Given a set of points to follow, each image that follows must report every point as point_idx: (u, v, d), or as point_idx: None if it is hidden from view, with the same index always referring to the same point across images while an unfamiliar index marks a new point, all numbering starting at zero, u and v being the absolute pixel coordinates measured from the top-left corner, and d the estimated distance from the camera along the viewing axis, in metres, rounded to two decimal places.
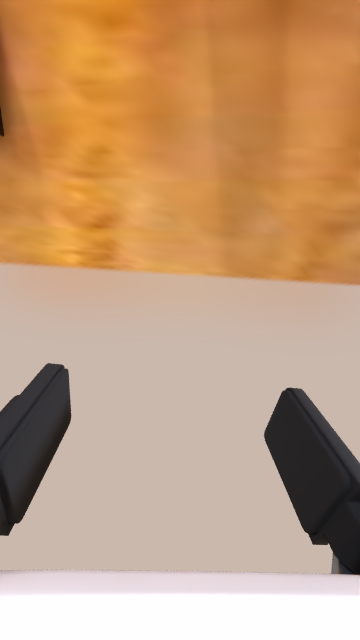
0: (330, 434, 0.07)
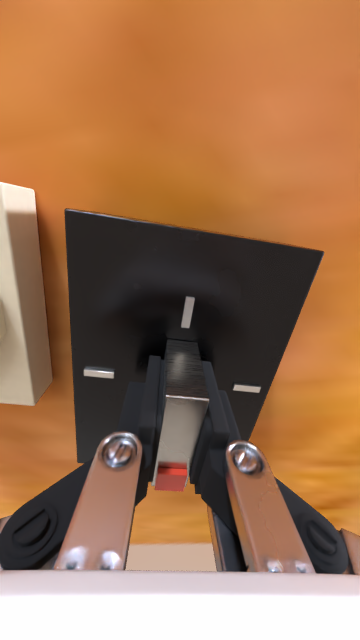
0: (213, 395, 0.08)
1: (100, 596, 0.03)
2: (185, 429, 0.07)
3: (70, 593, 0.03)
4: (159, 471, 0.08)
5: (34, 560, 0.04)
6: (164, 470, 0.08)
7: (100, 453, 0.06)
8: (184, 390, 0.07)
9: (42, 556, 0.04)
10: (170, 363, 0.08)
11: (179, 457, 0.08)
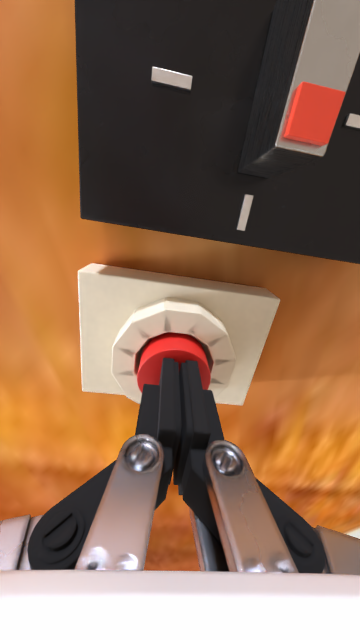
0: (197, 395, 0.08)
1: (100, 596, 0.03)
2: None
3: (70, 593, 0.03)
4: (303, 83, 0.05)
5: (65, 564, 0.04)
6: (309, 86, 0.05)
7: (123, 456, 0.06)
8: None
9: (69, 563, 0.04)
10: None
11: (336, 57, 0.05)
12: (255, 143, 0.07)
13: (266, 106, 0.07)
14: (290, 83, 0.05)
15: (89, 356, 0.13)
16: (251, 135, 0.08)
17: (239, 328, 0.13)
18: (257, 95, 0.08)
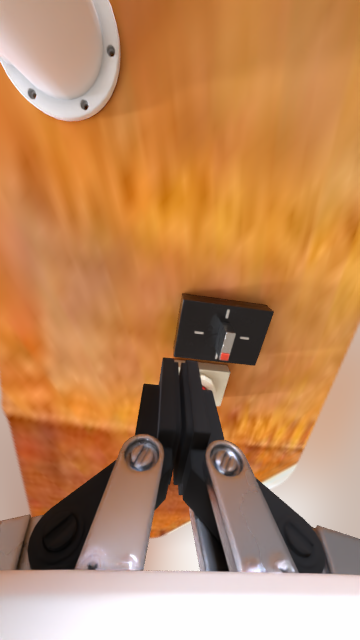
0: (197, 395, 0.08)
1: (100, 596, 0.03)
2: (230, 341, 0.31)
3: (70, 593, 0.03)
4: (222, 353, 0.32)
5: (65, 565, 0.04)
6: (223, 353, 0.32)
7: (123, 457, 0.06)
8: (230, 331, 0.31)
9: (69, 563, 0.04)
10: (224, 327, 0.32)
11: (227, 350, 0.32)
12: (217, 349, 0.34)
13: (218, 346, 0.34)
14: (220, 352, 0.32)
15: None
16: (216, 345, 0.35)
17: (217, 381, 0.40)
18: (218, 336, 0.35)
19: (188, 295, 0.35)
